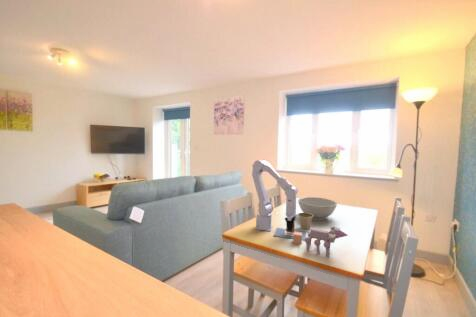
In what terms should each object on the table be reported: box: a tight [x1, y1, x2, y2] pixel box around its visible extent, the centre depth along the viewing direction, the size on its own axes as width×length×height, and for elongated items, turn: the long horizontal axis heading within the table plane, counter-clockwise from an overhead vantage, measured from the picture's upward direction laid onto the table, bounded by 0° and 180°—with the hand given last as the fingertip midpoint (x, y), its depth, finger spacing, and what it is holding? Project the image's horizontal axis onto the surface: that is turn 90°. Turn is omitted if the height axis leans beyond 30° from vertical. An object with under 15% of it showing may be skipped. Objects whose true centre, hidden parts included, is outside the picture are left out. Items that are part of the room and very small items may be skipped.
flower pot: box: [297, 212, 313, 230], centre depth 151 cm, size 9×9×9 cm
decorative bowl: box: [297, 196, 338, 221], centre depth 172 cm, size 27×27×12 cm
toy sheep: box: [304, 226, 349, 258], centre depth 118 cm, size 20×11×14 cm, turn 58°
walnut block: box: [285, 221, 296, 233], centre depth 140 cm, size 4×4×5 cm
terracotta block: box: [292, 232, 303, 245], centre depth 130 cm, size 4×4×5 cm
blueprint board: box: [273, 227, 307, 242], centre depth 141 cm, size 18×13×1 cm
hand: (290, 228), depth 141 cm, fingers closed on walnut block, 4 cm apart
